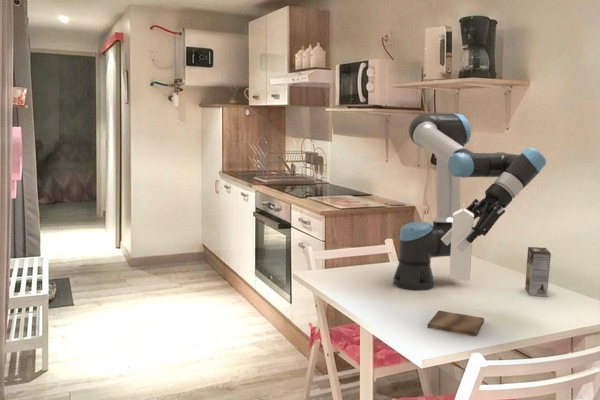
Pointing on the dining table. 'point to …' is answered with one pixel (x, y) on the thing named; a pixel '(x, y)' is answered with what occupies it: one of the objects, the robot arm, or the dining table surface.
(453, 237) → the milk
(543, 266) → the coffee box
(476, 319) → the walnut board
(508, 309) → the dining table surface
